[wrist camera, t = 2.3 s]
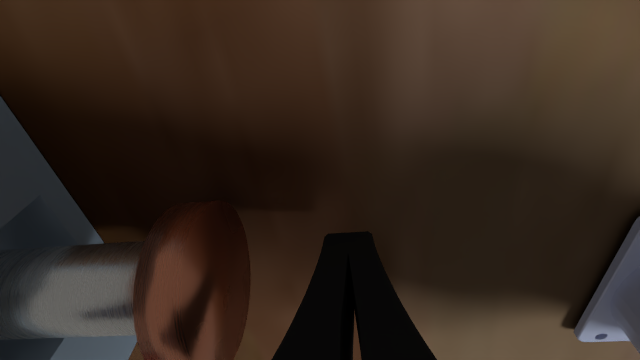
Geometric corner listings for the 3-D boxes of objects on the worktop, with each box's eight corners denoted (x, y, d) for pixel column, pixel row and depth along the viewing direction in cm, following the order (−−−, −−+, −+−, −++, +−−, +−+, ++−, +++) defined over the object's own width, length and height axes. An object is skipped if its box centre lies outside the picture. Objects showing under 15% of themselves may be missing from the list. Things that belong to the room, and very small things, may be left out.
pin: (222, 168, 11) (154, 306, 7) (258, 270, 14) (225, 409, 10) (-54, 192, 12) (-256, 323, 8) (33, 281, 15) (-82, 411, 11)
